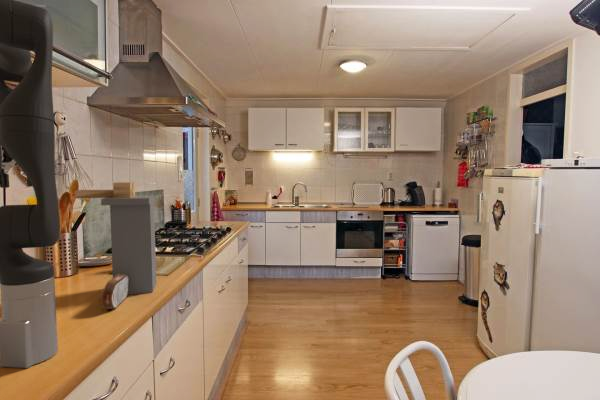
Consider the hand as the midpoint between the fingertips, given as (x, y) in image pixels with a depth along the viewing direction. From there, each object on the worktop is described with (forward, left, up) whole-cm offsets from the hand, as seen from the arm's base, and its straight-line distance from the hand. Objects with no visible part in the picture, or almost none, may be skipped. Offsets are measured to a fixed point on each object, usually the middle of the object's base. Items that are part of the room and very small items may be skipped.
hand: (18, 186), depth 100 cm
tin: (+7, -23, -37) cm, 44 cm away
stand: (+21, -20, -36) cm, 47 cm away
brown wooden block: (+19, -13, -4) cm, 23 cm away
